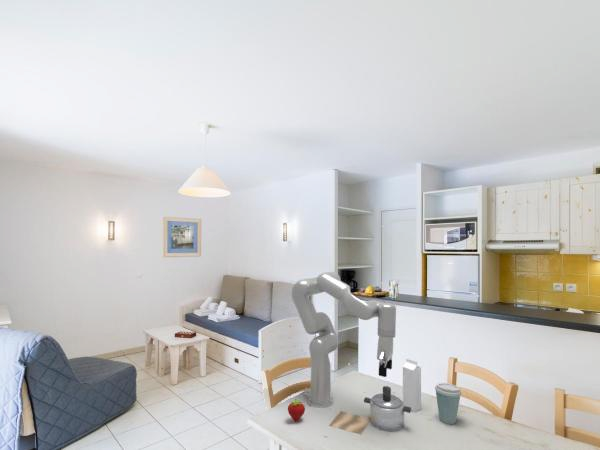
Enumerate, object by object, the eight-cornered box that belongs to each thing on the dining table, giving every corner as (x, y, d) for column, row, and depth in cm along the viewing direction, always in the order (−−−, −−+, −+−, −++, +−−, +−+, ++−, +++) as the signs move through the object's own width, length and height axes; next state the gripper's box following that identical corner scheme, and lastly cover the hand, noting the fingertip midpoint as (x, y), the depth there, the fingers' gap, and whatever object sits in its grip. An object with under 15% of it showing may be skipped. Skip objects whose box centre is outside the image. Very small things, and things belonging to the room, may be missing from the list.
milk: (413, 412, 154) (413, 363, 156) (402, 407, 159) (402, 359, 160) (421, 408, 158) (421, 360, 159) (410, 403, 163) (410, 357, 164)
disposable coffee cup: (434, 412, 154) (434, 379, 155) (460, 416, 151) (460, 382, 152) (435, 424, 144) (435, 388, 145) (463, 429, 141) (462, 392, 142)
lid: (369, 404, 142) (369, 390, 143) (376, 393, 153) (376, 380, 153) (398, 411, 137) (398, 396, 137) (403, 399, 147) (403, 385, 148)
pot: (359, 425, 143) (359, 403, 143) (369, 411, 155) (369, 391, 155) (407, 438, 133) (407, 415, 134) (413, 422, 146) (413, 400, 146)
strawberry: (305, 425, 143) (305, 401, 143) (287, 425, 142) (287, 401, 143) (304, 418, 148) (304, 394, 149) (287, 418, 148) (287, 394, 149)
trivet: (328, 426, 142) (328, 425, 142) (340, 412, 154) (340, 410, 154) (361, 435, 135) (361, 434, 135) (371, 419, 147) (370, 418, 147)
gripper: (382, 326, 156) (381, 364, 155) (372, 335, 141) (371, 377, 140) (399, 329, 152) (398, 367, 152) (390, 338, 137) (389, 381, 136)
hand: (385, 372), depth 146 cm, fingers open, 9 cm apart
